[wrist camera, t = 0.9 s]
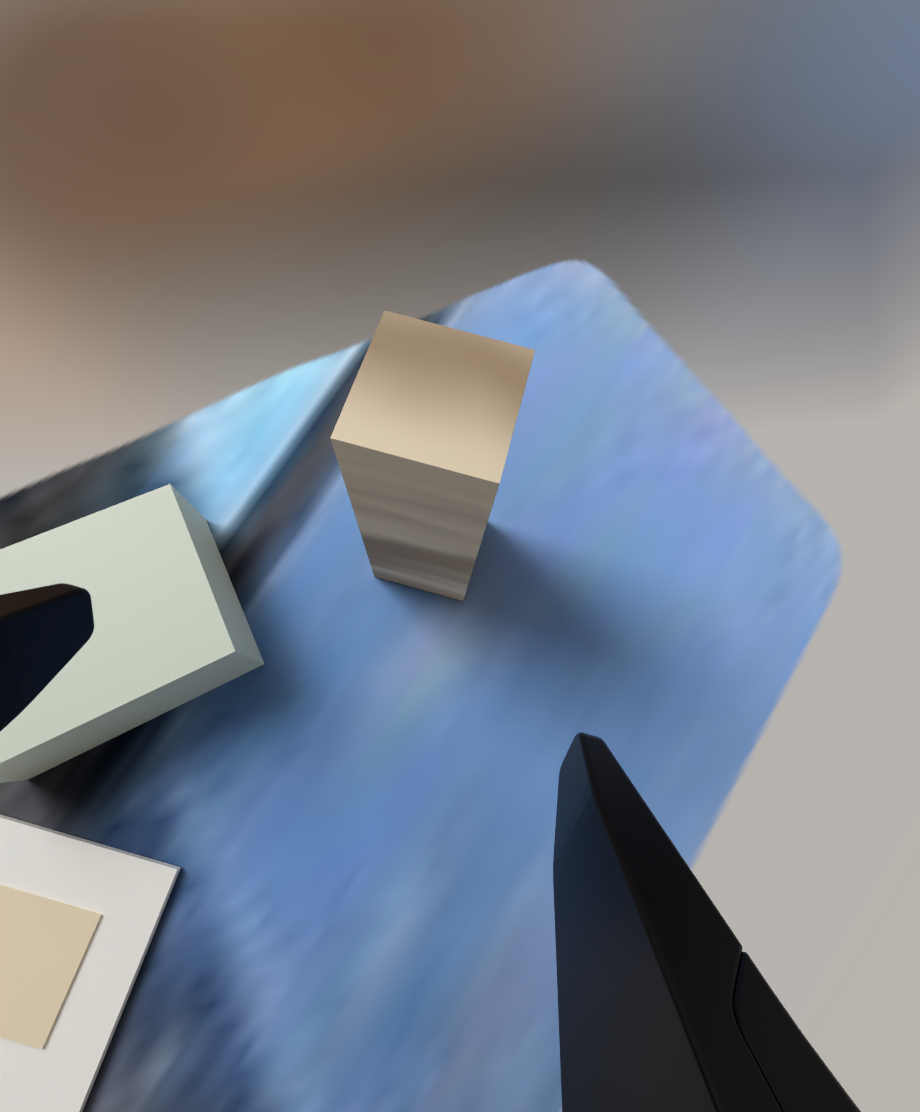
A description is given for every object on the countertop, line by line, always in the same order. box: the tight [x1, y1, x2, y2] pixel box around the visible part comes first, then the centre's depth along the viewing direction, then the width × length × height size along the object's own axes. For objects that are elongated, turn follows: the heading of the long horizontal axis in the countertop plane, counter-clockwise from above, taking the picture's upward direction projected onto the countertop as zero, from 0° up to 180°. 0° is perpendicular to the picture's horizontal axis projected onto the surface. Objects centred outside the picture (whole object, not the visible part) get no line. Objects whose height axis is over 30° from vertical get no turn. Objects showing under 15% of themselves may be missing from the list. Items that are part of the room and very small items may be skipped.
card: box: [0, 814, 181, 1112], centre depth 18 cm, size 8×8×1 cm
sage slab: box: [0, 484, 264, 783], centre depth 20 cm, size 10×8×4 cm
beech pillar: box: [331, 311, 535, 601], centre depth 19 cm, size 4×4×12 cm
